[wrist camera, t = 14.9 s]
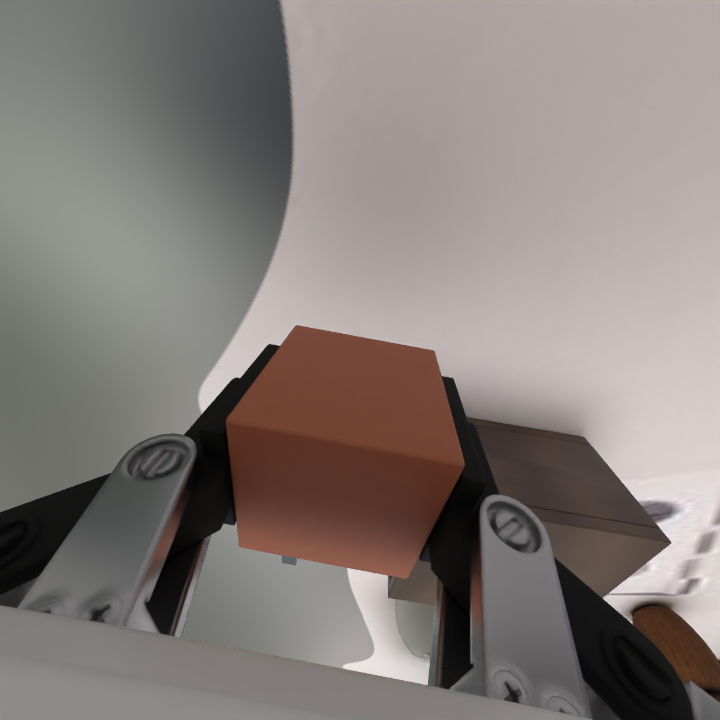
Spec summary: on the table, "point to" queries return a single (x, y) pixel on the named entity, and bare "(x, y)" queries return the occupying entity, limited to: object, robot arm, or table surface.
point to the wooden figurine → (680, 647)
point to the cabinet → (560, 508)
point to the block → (343, 452)
